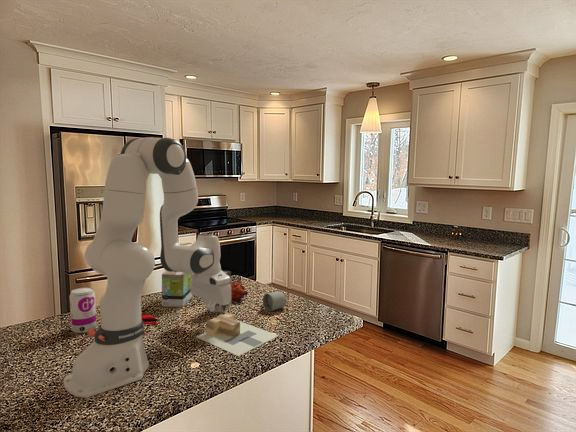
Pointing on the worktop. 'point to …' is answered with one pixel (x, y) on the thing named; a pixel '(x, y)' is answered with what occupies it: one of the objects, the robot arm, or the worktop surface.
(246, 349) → the sage board
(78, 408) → the worktop surface
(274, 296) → the ceramic mug
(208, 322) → the maple T block
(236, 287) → the dragon fruit
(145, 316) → the cloth
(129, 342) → the robot arm
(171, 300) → the tea box
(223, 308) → the coffee box
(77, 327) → the supplement can
